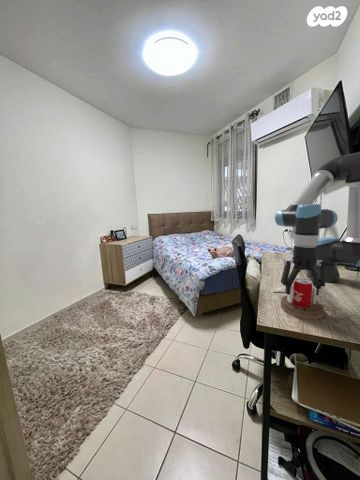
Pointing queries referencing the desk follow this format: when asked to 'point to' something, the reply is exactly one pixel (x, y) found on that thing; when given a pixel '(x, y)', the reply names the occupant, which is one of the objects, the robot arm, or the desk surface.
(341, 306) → the desk surface
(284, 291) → the lace cord
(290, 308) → the brown flat ring
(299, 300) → the beverage can
